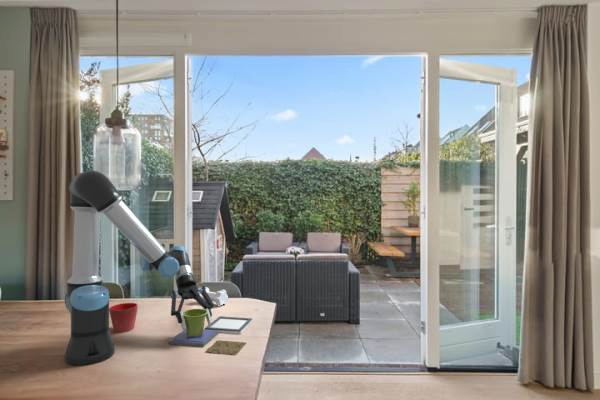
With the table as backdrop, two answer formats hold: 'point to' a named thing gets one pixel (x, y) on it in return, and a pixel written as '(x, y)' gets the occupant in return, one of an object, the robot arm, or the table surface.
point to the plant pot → (194, 321)
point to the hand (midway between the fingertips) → (197, 327)
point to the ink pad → (194, 338)
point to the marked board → (230, 324)
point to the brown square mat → (225, 347)
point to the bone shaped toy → (217, 296)
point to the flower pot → (123, 316)
